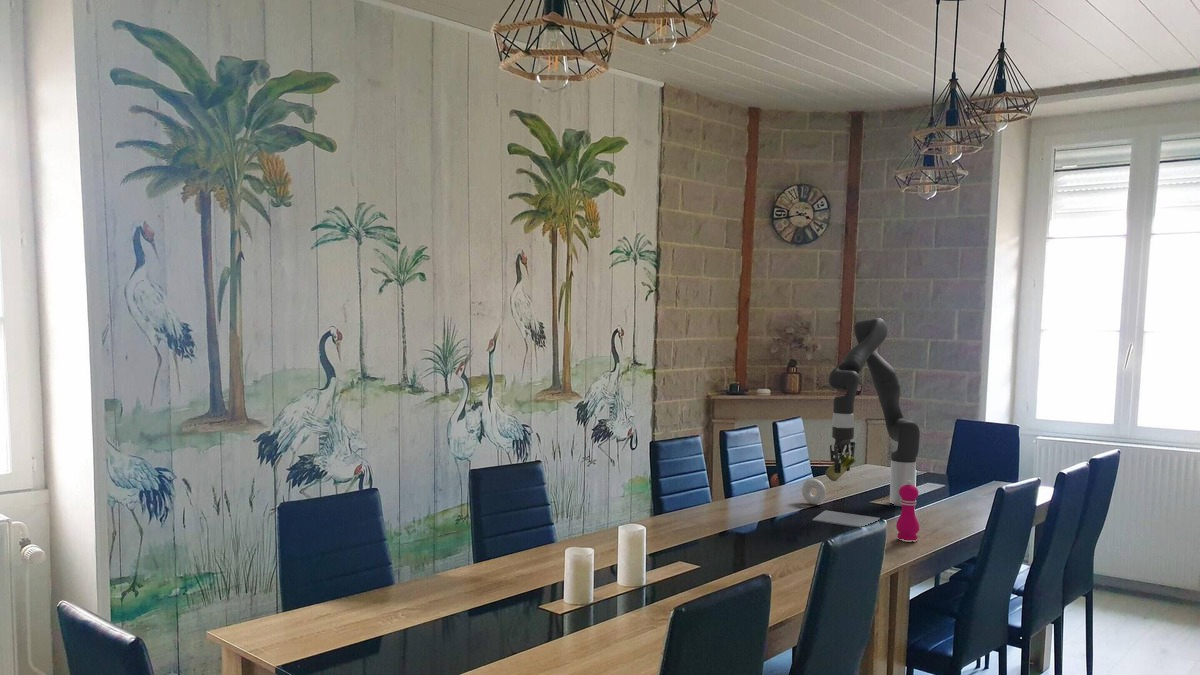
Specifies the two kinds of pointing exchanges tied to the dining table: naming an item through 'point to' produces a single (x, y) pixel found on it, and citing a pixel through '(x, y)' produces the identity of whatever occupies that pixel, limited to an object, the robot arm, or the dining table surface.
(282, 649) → the dining table surface
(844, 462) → the fennel bulb
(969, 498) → the dining table surface
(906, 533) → the pepper mill
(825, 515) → the rubber mat
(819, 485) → the donut
